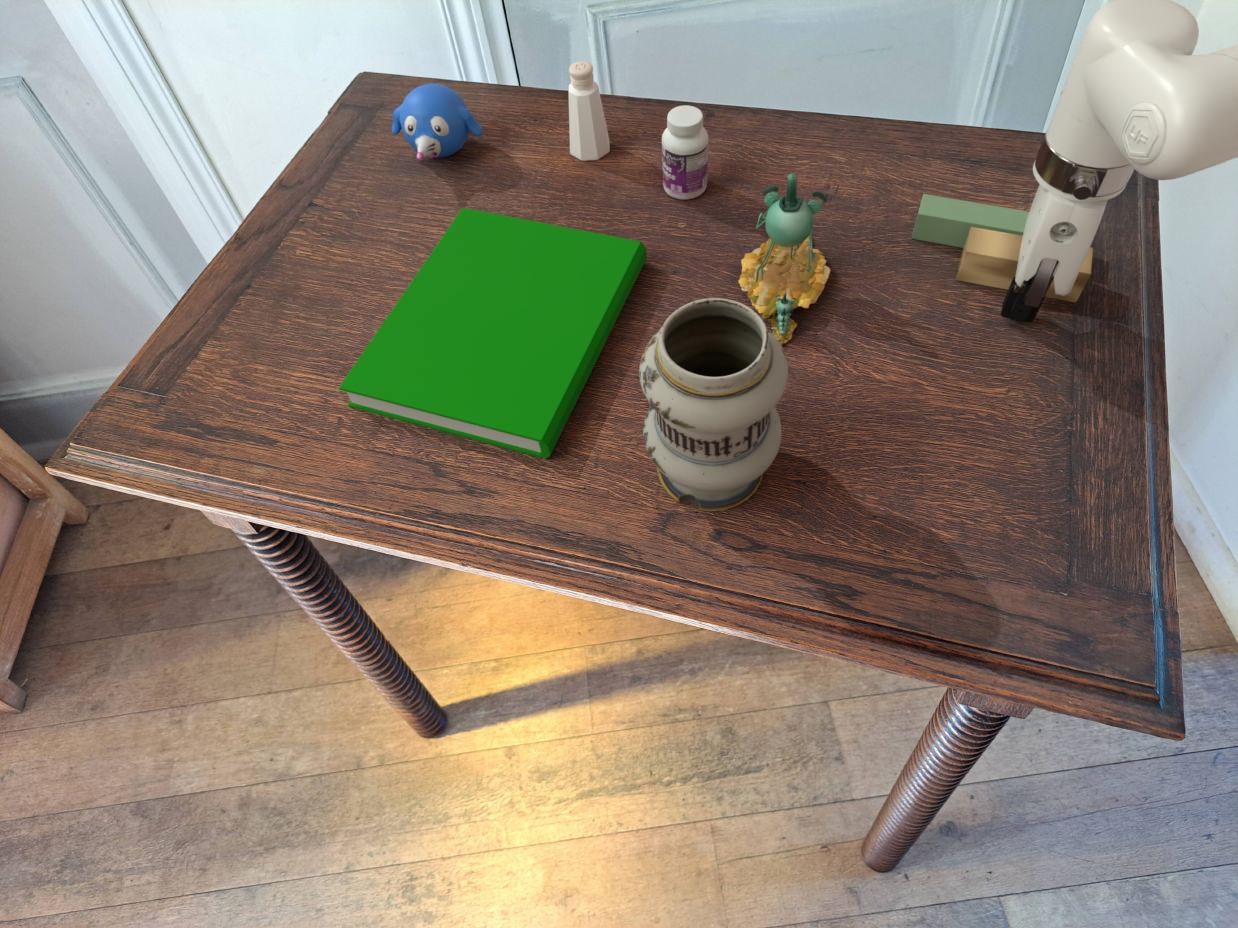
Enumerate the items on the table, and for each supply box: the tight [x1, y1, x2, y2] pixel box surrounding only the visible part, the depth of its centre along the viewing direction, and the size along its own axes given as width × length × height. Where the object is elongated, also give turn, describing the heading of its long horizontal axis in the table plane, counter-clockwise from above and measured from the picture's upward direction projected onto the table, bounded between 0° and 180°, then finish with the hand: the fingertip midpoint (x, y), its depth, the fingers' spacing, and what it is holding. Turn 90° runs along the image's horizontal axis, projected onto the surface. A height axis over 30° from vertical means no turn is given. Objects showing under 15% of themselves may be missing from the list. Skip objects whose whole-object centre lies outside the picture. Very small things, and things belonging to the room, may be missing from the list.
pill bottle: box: [661, 104, 709, 201], centre depth 99 cm, size 5×5×10 cm
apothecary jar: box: [638, 297, 789, 512], centre depth 72 cm, size 12×12×18 cm
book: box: [338, 207, 647, 460], centre depth 90 cm, size 22×28×3 cm
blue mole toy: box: [390, 83, 484, 162], centre depth 106 cm, size 12×12×8 cm
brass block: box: [955, 227, 1094, 303], centre depth 89 cm, size 12×4×4 cm, turn 70°
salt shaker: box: [568, 60, 611, 162], centre depth 104 cm, size 5×5×11 cm
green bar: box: [910, 193, 1029, 249], centre depth 92 cm, size 16×4×4 cm, turn 69°
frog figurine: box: [738, 173, 831, 346], centre depth 87 cm, size 10×18×15 cm, turn 159°
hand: (1017, 314), depth 87 cm, fingers closed
